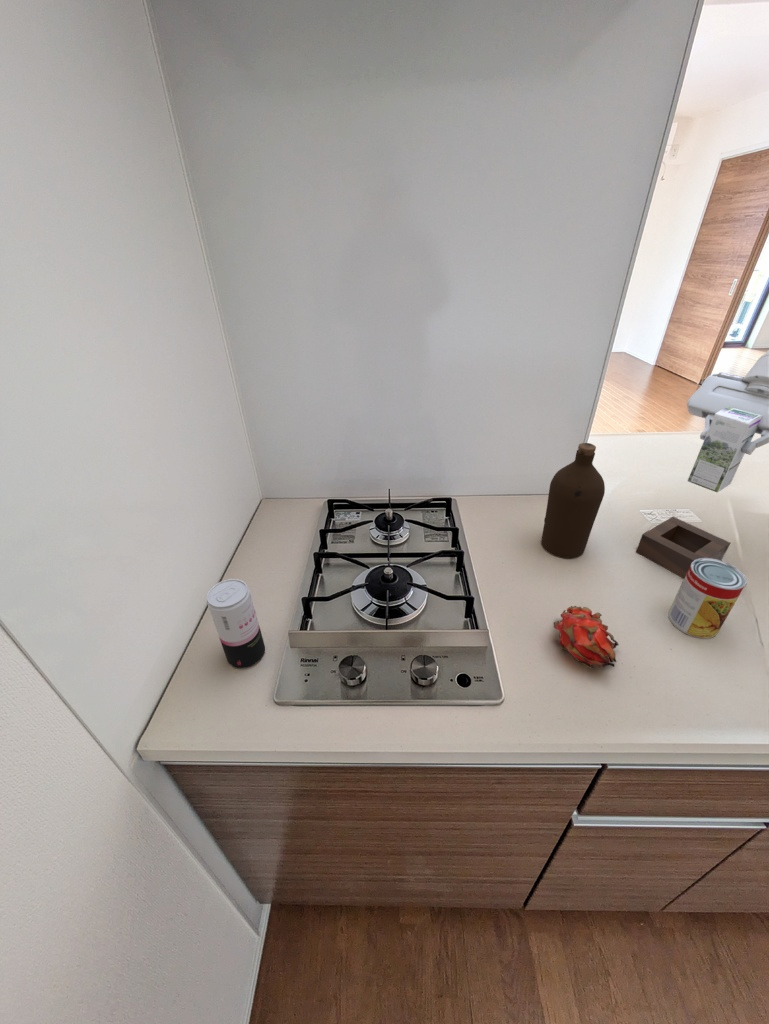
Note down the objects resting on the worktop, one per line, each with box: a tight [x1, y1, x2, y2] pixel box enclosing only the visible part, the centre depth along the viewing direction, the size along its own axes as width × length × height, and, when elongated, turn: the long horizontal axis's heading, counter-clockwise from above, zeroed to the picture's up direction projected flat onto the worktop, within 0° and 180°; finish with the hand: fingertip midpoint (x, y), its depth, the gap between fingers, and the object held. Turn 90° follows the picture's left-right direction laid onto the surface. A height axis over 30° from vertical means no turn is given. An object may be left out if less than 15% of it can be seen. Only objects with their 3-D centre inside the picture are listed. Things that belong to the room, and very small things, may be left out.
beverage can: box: [206, 578, 266, 669], centre depth 73 cm, size 7×6×15 cm
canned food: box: [667, 558, 748, 639], centre depth 77 cm, size 8×8×12 cm
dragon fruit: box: [553, 605, 621, 669], centre depth 73 cm, size 8×8×12 cm
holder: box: [635, 516, 731, 579], centre depth 94 cm, size 12×12×5 cm
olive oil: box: [540, 442, 606, 559], centre depth 93 cm, size 11×11×25 cm
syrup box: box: [687, 407, 763, 493], centre depth 82 cm, size 6×6×14 cm
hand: (724, 445), depth 81 cm, fingers closed on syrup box, 6 cm apart
